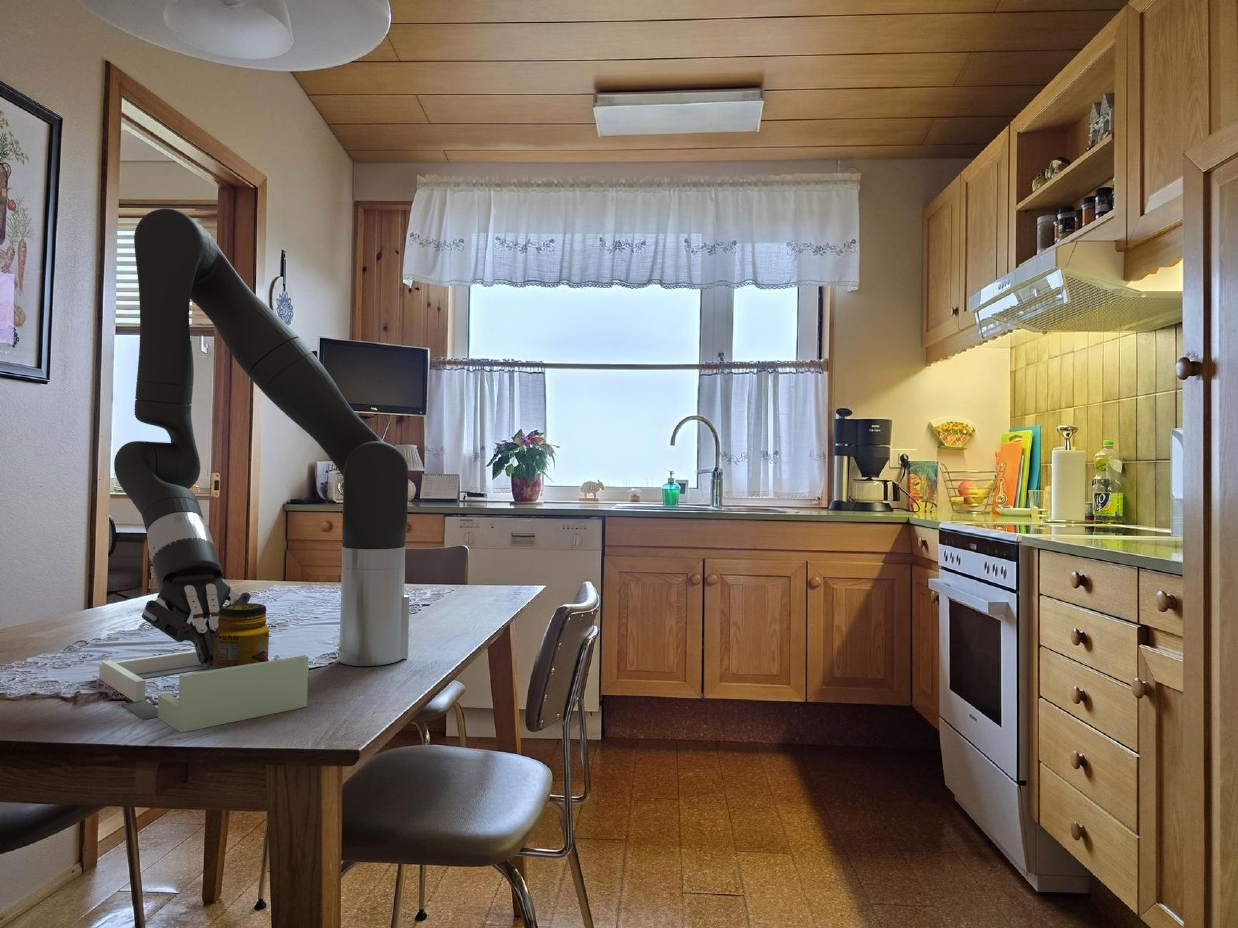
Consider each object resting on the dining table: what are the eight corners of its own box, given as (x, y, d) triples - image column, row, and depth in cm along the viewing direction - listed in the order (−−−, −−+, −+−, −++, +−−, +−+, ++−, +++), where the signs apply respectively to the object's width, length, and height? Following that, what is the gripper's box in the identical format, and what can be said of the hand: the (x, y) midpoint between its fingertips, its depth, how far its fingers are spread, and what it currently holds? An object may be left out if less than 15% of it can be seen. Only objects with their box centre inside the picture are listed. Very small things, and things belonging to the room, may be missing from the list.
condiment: (282, 702, 96) (285, 604, 96) (219, 720, 88) (222, 614, 89) (243, 694, 99) (246, 599, 100) (179, 710, 92) (182, 608, 92)
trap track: (209, 662, 115) (210, 621, 116) (306, 706, 95) (308, 656, 95) (85, 680, 104) (87, 635, 104) (165, 735, 83) (167, 679, 83)
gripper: (134, 537, 98) (163, 653, 89) (243, 534, 107) (279, 637, 99) (119, 575, 101) (146, 690, 92) (227, 568, 111) (260, 672, 102)
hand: (214, 663), depth 96 cm, fingers closed
